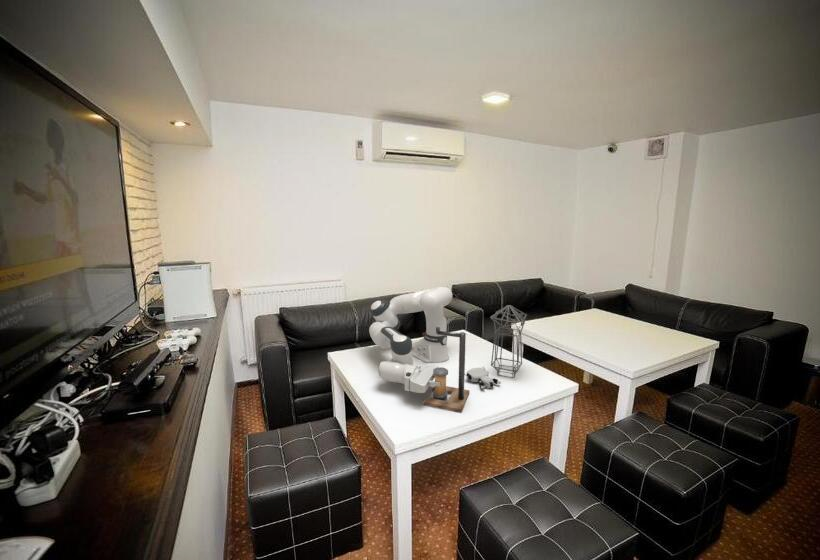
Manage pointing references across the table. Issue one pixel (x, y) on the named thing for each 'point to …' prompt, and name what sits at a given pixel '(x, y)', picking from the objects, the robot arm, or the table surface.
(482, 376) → the robot toy
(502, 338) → the geometric lantern
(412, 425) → the table surface
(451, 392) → the notched board
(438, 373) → the cord spool
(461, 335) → the hook stand
